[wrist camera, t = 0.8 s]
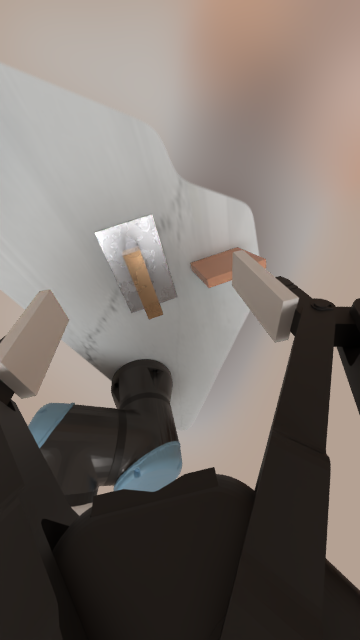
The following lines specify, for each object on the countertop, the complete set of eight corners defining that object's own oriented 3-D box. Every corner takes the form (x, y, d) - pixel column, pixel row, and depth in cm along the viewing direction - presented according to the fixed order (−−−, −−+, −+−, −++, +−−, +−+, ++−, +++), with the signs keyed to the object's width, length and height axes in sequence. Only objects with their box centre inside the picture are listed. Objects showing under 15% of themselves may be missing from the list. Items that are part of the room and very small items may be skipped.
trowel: (176, 295, 44) (189, 320, 35) (131, 311, 43) (132, 340, 34) (151, 213, 35) (160, 218, 26) (95, 232, 35) (84, 243, 26)
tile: (238, 255, 42) (266, 269, 34) (192, 271, 42) (209, 289, 33) (237, 247, 41) (265, 259, 33) (190, 263, 41) (207, 279, 32)
